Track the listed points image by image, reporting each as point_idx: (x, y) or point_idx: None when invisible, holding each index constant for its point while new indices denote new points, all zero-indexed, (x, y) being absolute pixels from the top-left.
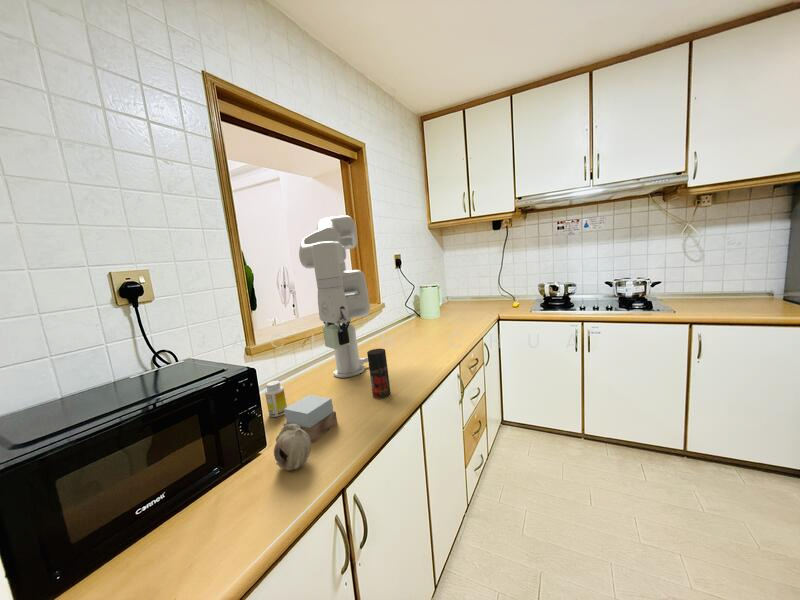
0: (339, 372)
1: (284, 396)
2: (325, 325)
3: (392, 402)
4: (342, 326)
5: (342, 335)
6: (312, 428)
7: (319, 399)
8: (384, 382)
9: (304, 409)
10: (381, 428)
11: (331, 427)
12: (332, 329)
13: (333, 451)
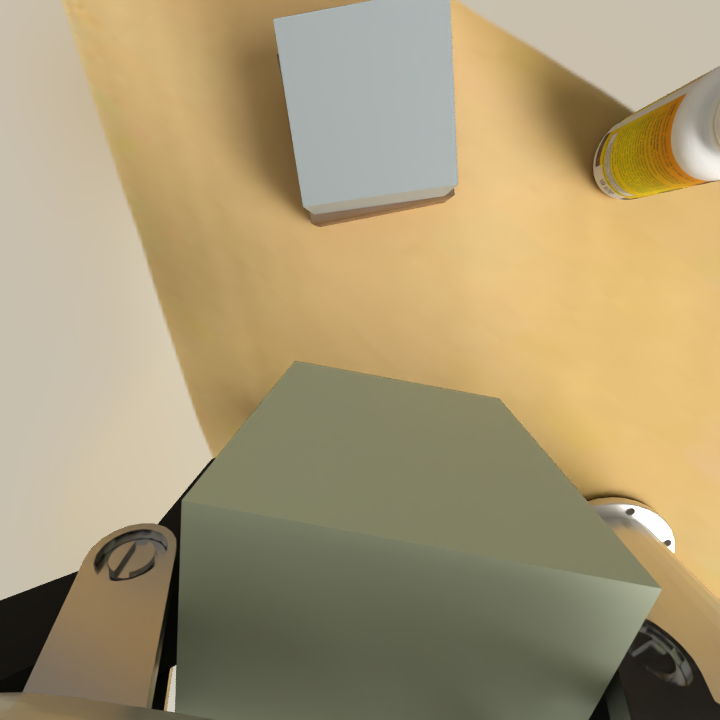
0: (625, 520)
1: (647, 171)
2: (696, 703)
3: None
4: (3, 643)
5: (177, 503)
6: (279, 66)
7: (351, 170)
8: None
9: (331, 46)
10: (163, 274)
11: None
12: (184, 497)
13: (183, 86)
